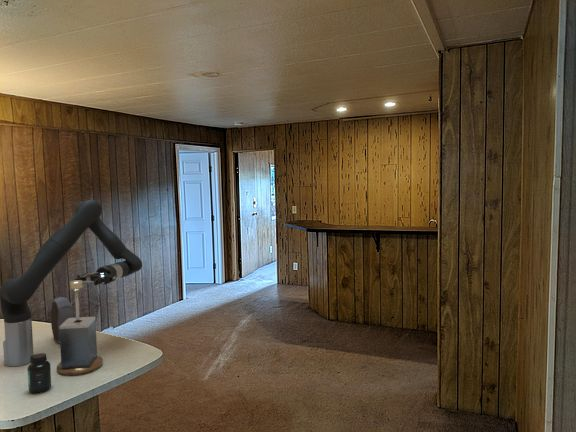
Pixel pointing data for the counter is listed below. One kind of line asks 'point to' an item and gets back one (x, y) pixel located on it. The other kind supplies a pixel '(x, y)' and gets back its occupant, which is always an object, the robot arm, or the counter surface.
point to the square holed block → (78, 347)
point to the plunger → (76, 295)
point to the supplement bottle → (39, 374)
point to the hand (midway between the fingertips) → (85, 282)
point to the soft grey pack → (60, 315)
